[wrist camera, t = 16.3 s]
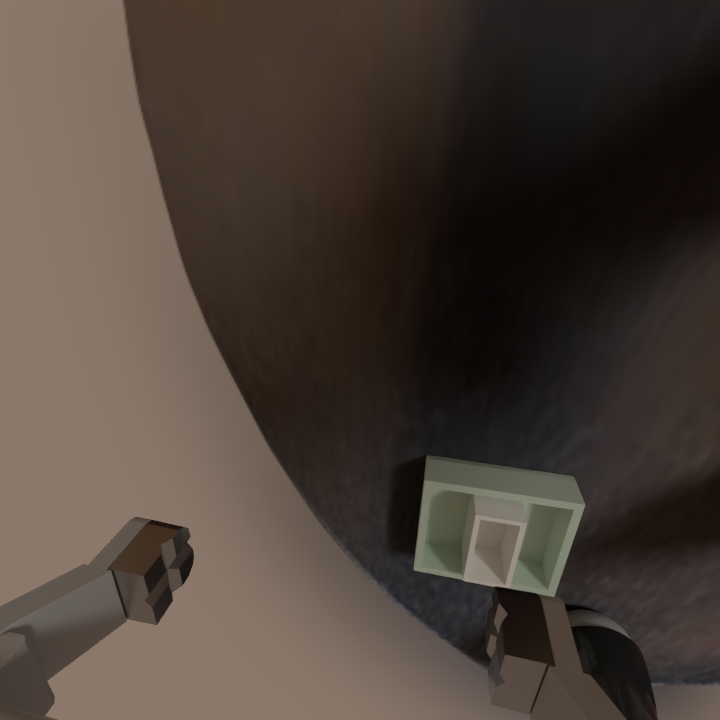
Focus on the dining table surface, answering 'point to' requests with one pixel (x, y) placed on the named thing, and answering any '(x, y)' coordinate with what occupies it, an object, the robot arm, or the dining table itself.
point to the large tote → (534, 488)
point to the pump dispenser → (613, 663)
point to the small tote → (492, 540)
